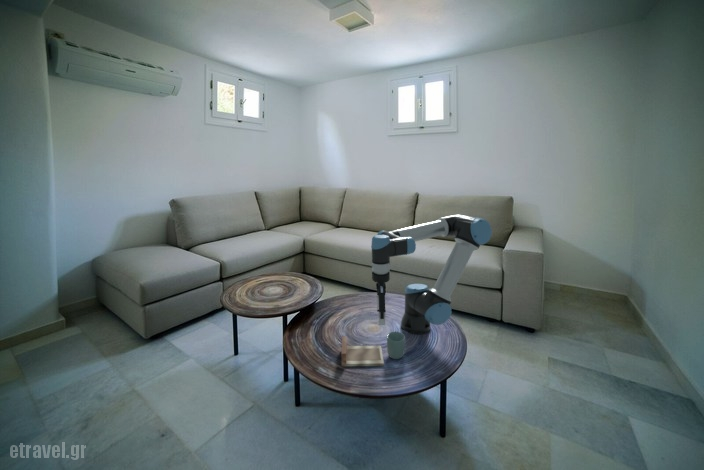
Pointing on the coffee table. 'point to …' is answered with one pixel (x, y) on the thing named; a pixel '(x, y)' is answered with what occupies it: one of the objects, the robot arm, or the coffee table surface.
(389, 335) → the cup
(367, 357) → the tray
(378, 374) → the coffee table surface
